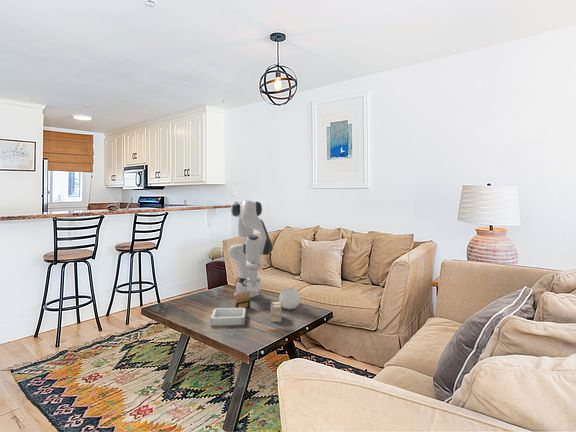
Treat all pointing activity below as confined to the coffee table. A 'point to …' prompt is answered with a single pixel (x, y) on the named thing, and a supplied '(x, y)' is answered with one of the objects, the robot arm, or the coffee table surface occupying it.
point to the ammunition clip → (242, 300)
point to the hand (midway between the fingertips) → (253, 285)
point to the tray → (228, 316)
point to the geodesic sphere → (289, 298)
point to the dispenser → (275, 311)
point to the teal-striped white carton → (249, 285)
